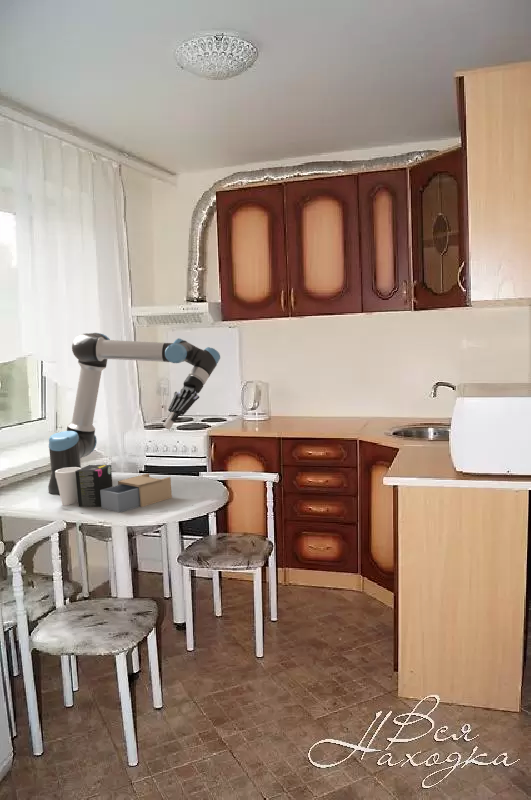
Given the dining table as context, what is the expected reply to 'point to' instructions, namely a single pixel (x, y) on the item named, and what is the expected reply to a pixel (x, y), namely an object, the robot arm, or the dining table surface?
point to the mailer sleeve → (150, 488)
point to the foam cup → (67, 485)
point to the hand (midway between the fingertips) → (166, 427)
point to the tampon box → (92, 484)
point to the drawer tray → (120, 498)
